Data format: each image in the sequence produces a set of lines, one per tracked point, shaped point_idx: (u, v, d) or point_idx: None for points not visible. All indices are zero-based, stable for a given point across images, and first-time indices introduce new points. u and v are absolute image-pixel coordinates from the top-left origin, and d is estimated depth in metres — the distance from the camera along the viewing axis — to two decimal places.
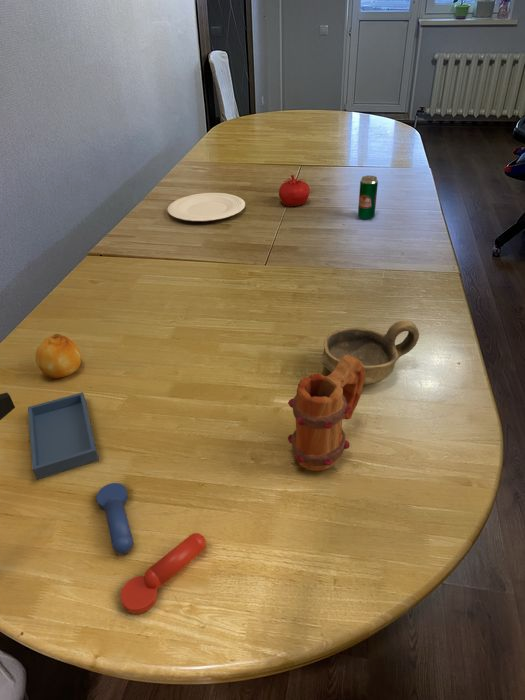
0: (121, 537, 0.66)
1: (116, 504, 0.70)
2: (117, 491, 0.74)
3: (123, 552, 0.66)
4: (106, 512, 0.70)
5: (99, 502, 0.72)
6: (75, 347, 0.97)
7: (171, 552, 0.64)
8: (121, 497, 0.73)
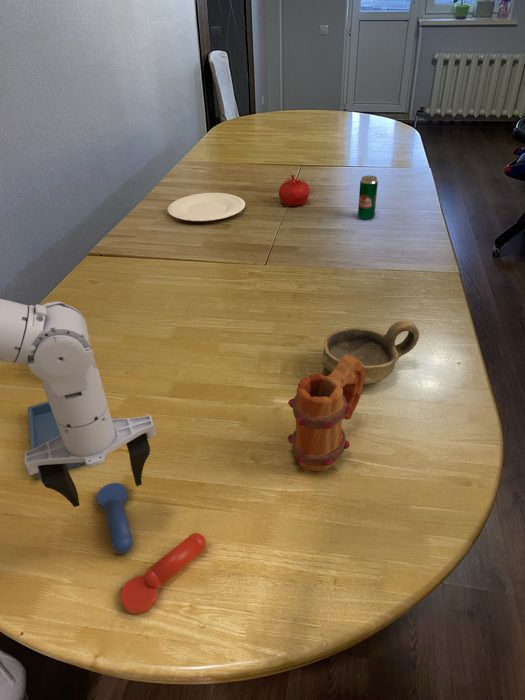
0: (121, 537, 0.66)
1: (116, 504, 0.70)
2: (117, 491, 0.74)
3: (123, 552, 0.66)
4: (106, 512, 0.70)
5: (99, 502, 0.72)
6: None
7: (171, 552, 0.64)
8: (121, 497, 0.73)
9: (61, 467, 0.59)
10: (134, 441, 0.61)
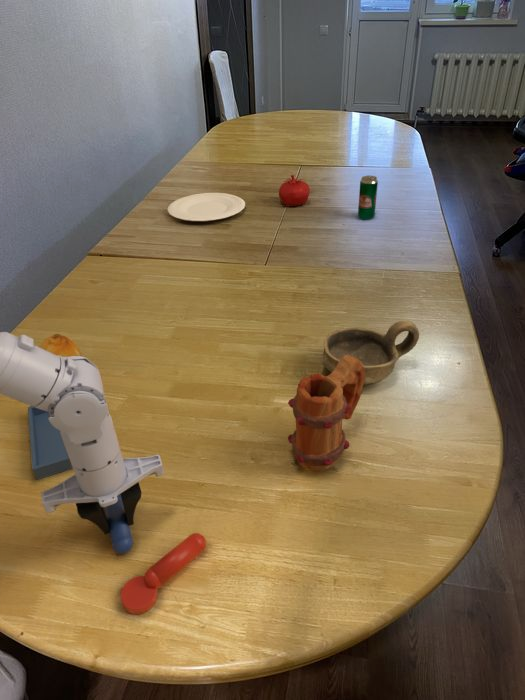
0: (121, 537, 0.66)
1: (116, 504, 0.70)
2: None
3: (123, 552, 0.66)
4: (106, 512, 0.70)
5: None
6: (75, 347, 0.97)
7: (171, 552, 0.64)
8: None
9: None
10: None
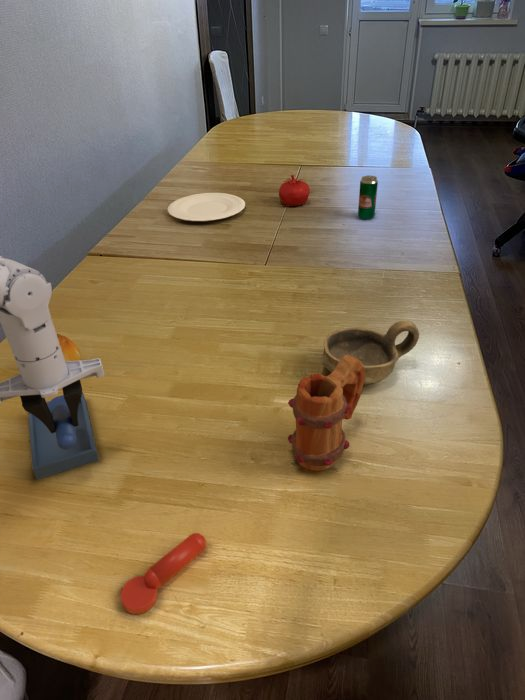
0: (65, 433, 0.72)
1: (63, 409, 0.76)
2: None
3: (67, 447, 0.71)
4: (54, 416, 0.76)
5: (49, 409, 0.78)
6: (75, 347, 0.97)
7: (171, 552, 0.64)
8: None
9: (39, 395, 0.69)
10: (68, 384, 0.71)
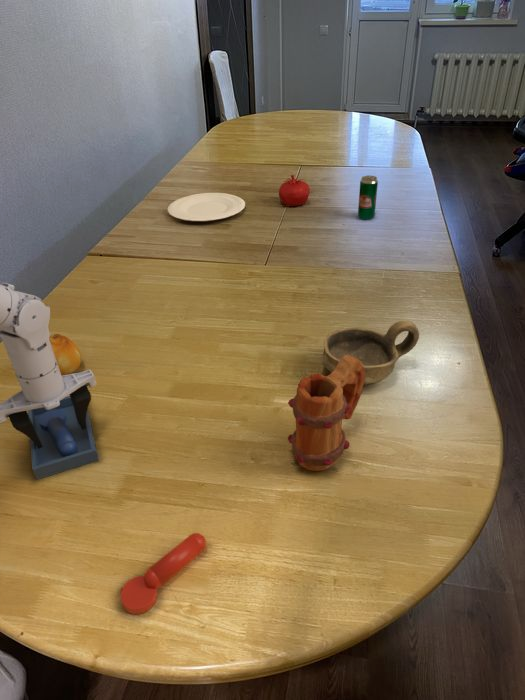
0: (66, 441, 0.80)
1: (58, 421, 0.84)
2: (57, 414, 0.87)
3: (69, 453, 0.79)
4: (50, 428, 0.83)
5: (42, 424, 0.85)
6: (75, 347, 0.97)
7: (171, 552, 0.64)
8: (61, 418, 0.86)
9: (26, 414, 0.76)
10: (77, 391, 0.79)
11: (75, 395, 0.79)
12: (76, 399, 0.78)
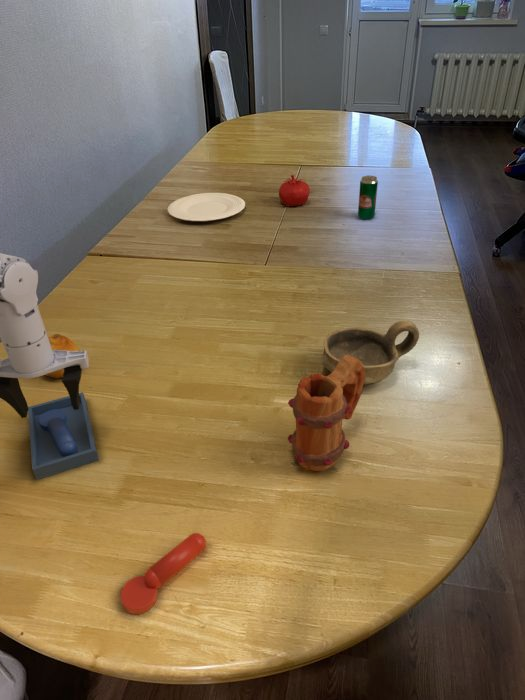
0: (66, 441, 0.80)
1: (58, 421, 0.84)
2: (57, 414, 0.87)
3: (69, 453, 0.79)
4: (50, 428, 0.83)
5: (42, 424, 0.85)
6: (75, 347, 0.97)
7: (171, 552, 0.64)
8: (61, 418, 0.86)
9: None
10: None
11: None
12: None
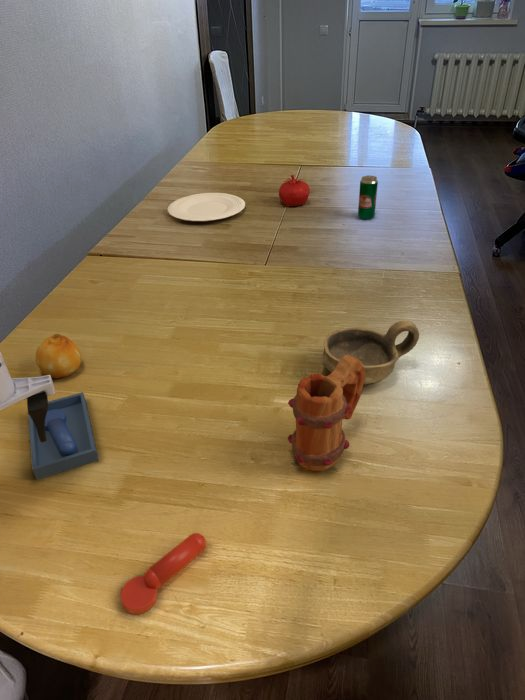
0: (66, 441, 0.80)
1: (58, 421, 0.84)
2: (57, 414, 0.87)
3: (69, 453, 0.79)
4: (50, 428, 0.83)
5: None
6: (75, 347, 0.97)
7: (171, 552, 0.64)
8: (61, 418, 0.86)
9: None
10: None
11: None
12: None
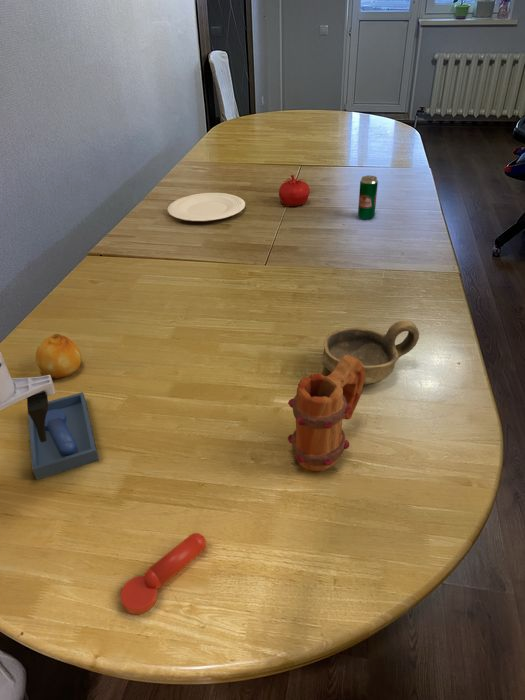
0: (66, 441, 0.80)
1: (58, 421, 0.84)
2: (57, 414, 0.87)
3: (69, 453, 0.79)
4: (50, 428, 0.83)
5: None
6: (75, 347, 0.97)
7: (171, 552, 0.64)
8: (61, 418, 0.86)
9: None
10: None
11: None
12: None
